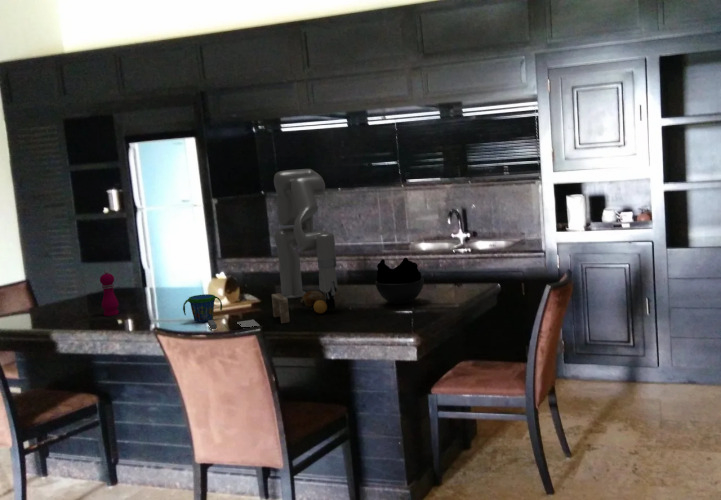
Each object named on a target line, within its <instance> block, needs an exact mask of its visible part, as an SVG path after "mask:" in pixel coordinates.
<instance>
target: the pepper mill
mask: <svg viewBox="0 0 721 500" xmlns="http://www.w3.org/2000/svg"><path fill="white" fill-rule="evenodd" d="M99 281H100V283H101V289H102V290H103V297H102V299H101V300H102V301H101V308H102V310H104V311H103V316H104V317H112V316H117V315H118V314H119V313H120V311H119V309H118V308H119V306H120V303H119V300H118V298H117V296H116V294H115V292H114V288H115V286H114V282H115V277H114V275H113V274H112V273H109V270H108V269H106V270H104V272H103V274H101V276H100V277H99Z"/></svg>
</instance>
